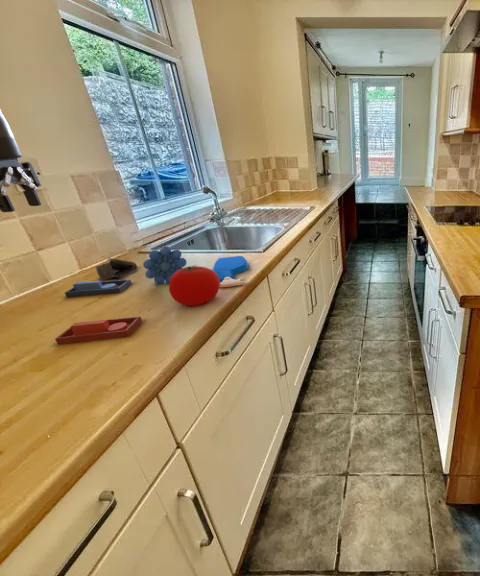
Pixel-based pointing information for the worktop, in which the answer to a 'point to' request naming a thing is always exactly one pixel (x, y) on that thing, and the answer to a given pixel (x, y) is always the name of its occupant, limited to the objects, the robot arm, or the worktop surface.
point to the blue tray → (123, 286)
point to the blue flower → (163, 264)
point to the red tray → (67, 337)
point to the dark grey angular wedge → (115, 269)
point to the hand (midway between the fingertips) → (22, 208)
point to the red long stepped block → (96, 327)
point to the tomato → (194, 285)
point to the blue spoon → (92, 285)
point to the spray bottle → (230, 270)
